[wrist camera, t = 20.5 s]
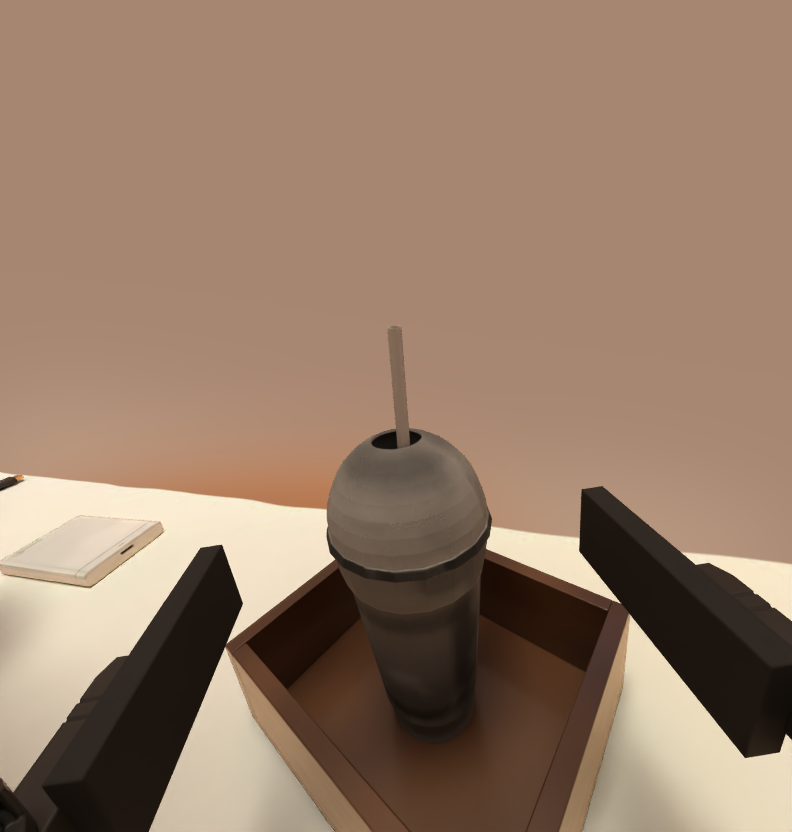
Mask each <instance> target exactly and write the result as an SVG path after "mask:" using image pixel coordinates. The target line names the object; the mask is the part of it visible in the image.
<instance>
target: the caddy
mask: <svg viewBox="0 0 792 832" xmlns="http://www.w3.org/2000/svg"><path fill="white" fill-rule="evenodd" d="M629 621H630V614H629V613H628V611H627V610H626V609H625V608H624V606H623V605H622V604H620V603H618V602H615V601H612V600H610V599H608V598H605V597H603V596H600V595H598V594H595V593H593V592H590V591H588V590H586V589H583V588H581V587H578V586H576V585H573V584H571V583H568V582H566V581H563V580H561V579H558V578H556V577H553V576H551V575H549V574H546V573H544V572H541V571H539V570H536V569H534V568H531V567H529V566H526V565H524V564H521V563H519V562H517V561H514V560H512V559H509V558H507V557H504V556H502V555H499V554H497V553H494V552H492V551H489V550H487V549H486V552H485V557H484V563H483V568H482V573H481V583H480V610H479V637H478V664H477V683H476V691H475V702H474V711H473V714H472V716H471V719H470V721H469V723H468V725H467V727H466V728H465V729H464V730H463V731H462V732H461V733H460V734H459V735H458V736H457V737H454V738H452V739H450V740H448V741H446V742H443V743H427V742H423V741H420V740H417V739H415V738H414V737H412V736H411V735H410V734H408V733H407V732H406V731H405V730H404V729H403V727H402V726H401V724H400V723H399V722H398V720H397V718H396V715H395V711H394V709H393V706H392V704H391V703H390V701H389V699H388V696H387V693H386V690H385V687H384V684H383V681H382V678H381V675H380V672H379V669H378V666H377V663H376V660H375V657H374V654H373V651H372V648H371V645H370V642H369V639H368V636H367V633H366V630H365V627H364V624H363V621H362V618H361V615H360V612H359V609H358V606H357V603H356V600H355V597H354V594H353V592H352V590H351V589H350V588H349V587H348V585H347V583H346V581H345V579H344V577H343V575H342V573H341V572H340V570H339V568H338V564H337V560H334V561H333V562H332V563H330V564H329V565H328V566H326V567H325V568H324V569H323V570H321V571H320V572H319V573H317V574H316V575H315V576H314V577H312V578H311V579H310V580H308V581H307V582H306V583H305V584H303V585H302V586H301V587H299V588H298V589H297V590H296V591H294V592H293V593H292V594H290V595H289V596H288V597H287V598H285V599H284V600H283V601H281V602H280V603H279V604H278V605H276V606H275V607H274V608H272V609H271V610H270V611H269V612H267V613H266V614H265V615H263V616H262V617H261V618H259V619H258V620H257V621H256V622H254V623H253V624H252V625H250V626H249V627H248V628H247V629H245V630H244V631H243V632H241V633H240V634H239V635H238V636H236V637H235V638H234V639H232V640H231V641H230V642H229V643H227V644H226V646H225V647H226V650H227V653H228V655H229V658H230V660H231V663H232V665H233V668H234V670H235V673H236V675H237V678H238V680H239V683H240V685H241V688H242V690H243V693H244V696H245V698H246V701H247V703H248V706H249V708H250V710H251V713H252V716H253V717H254V719H255V720H256V722H257V723H258V724H259V726H260V727H261V729H262V730H263V731H264V733H265V734H266V735H267V737H268V738H269V740H270V741H271V742H272V744H273V745H274V747H275V748H276V749H277V751H278V752H279V754H280V755H281V756H282V758H283V759H284V761H285V762H286V763H287V765H288V766H289V768H290V769H291V770H292V772H293V773H294V775H295V776H296V777H297V779H298V780H299V781H300V783H301V784H302V786H303V787H304V788H305V790H306V791H307V793H308V794H309V795H310V797H311V798H312V800H313V801H314V802H315V804H316V805H317V807H318V808H319V809H320V811H321V812H322V814H323V815H324V816H325V818H326V819H327V821H328V822H329V823H330V825H331V826H332V828H333V829H334V830H335V832H582V829H583V825H584V822H585V818H586V814H587V811H588V807H589V804H590V800H591V797H592V793H593V790H594V786H595V783H596V779H597V776H598V772H599V769H600V765H601V761H602V758H603V754H604V751H605V747H606V744H607V740H608V737H609V733H610V730H611V726H612V723H613V719H614V715H615V712H616V708H617V705H618V701H619V698H620V694H621V691H622V687H623V679H624V670H625V660H626V650H627V641H628V631H629Z"/></svg>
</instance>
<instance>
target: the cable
mask: <svg viewBox="0 0 792 832" xmlns="http://www.w3.org/2000/svg"><path fill="white" fill-rule="evenodd" d="M22 478H24V477H23V476H22V475H16V476H13V477H8V478H6V479H3V480H1V481H0V489H2V488H4V487H7V486H9V485H11V484H14V483H16V482H17V480H20V479H22Z"/></svg>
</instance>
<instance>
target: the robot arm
mask: <svg viewBox="0 0 792 832" xmlns="http://www.w3.org/2000/svg"><path fill="white" fill-rule="evenodd" d="M581 495H582V496H581V520H580V545H579V551H580V553H581V554H582V555H583V556H584V558H585V559H586V560H587V561H588V563H589V564H590V565H591V566H592V568H593V569H594V570H595V571H596V573H597V574H598V575H599V576H600V578H601V579H602V580H603V581H604V583H605V584H606V585H607V586H608V588H609V589H610V590H611V591H612V593H613V594H614V595H615V596H616V598H617V599H618V600H619V601H620V603H621V604H622V605H623V606H624V608H625V609H626V610H627V611H628V613H629V614H630V615H631V616H632V618H633V619H634V620H635V621H636V623H637V624H638V625H639V626H640V628H641V629H642V630H643V631H644V633H645V634H646V635H647V636H648V637H649V639H650V640H651V641H652V642H653V644H654V645H655V646H656V647H657V649H658V650H659V651H660V652H661V654H662V655H663V656H664V657H665V659H666V660H667V661H668V662H669V664H670V665H671V666H672V667H673V669H674V670H675V671H676V672H677V674H678V675H679V676H680V677H681V679H682V680H683V681H684V682H685V684H686V685H687V686H688V687H689V689H690V690H691V691H692V692H693V694H694V695H695V696H696V697H697V699H698V700H699V701H700V702H701V704H702V705H703V706H704V707H705V709H706V710H707V711H708V712H709V714H710V715H711V716H712V717H713V719H714V720H715V721H716V722H717V724H718V725H719V726H720V727H721V729H722V730H723V731H724V732H725V734H726V735H727V736H728V737H729V739H730V740H731V741H732V742H733V744H734V745H735V746H736V747H737V749H738V750H739V751H740V752H741V754H742V755H743V756H744V757H745V758H748V757H754V756H760V755H766V754H772V753H778V752H780V750H781V747H782V744H783V741H784V738H785V735H786V734H787V735H788V736H789V737H790V738H791V740H792V621H791V620H789V619H788V618H787V617H786V616H784V615H783V614H782V613H781V612H779V611H778V610H777V609H775V608H772V607H771V606H770V604H769V603H768V602H766V601H765V600H764V599H763V598H761V597H760V596H759V595H758V594H754V593H753V591H752V590H751V589H750V588H749V587H747V586H746V585H745V584H743V583H742V582H741V581H740V580H738V579H737V578H736V577H735V576H733V575H731V574H730V573H728V572H726V571H724V570H722V569H720V568H718V567H716V566H714V565H712V564H710V563H705V564H699V565H695V564H694V563H693V562H692V561H690V560H689V559H688V558H687V557H686V556H684V555H683V554H682V553H681V552H680V551H679V550H677V549H676V548H675V547H674V546H673V545H671V544H670V543H669V542H668V541H667V540H665V539H664V538H663V537H662V536H661V535H659V534H658V533H657V532H656V531H655V530H654V529H652V528H651V527H650V526H649V525H648V524H646V523H645V522H644V521H643V520H642V519H641V518H639V517H638V516H637V515H636V514H635V513H633V512H632V511H631V510H630V509H628V508H627V507H626V506H625V505H624V504H623V503H622V502H620V501H619V500H618V499H617V498H615V497H614V496H613V495H612V494H611V493H610V492H608V491H607V490H606V489H605V488H603V486H601V487H594V488H588V489H582V494H581ZM242 605H243V602H242V600H241V597H240V594H239V591H238V588H237V586H236V583H235V580H234V577H233V574H232V571H231V569H230V566H229V563H228V560H227V557H226V555H225V552H224V549H223V546H222V545H216V546H210V547H203V548H200V550H199V551H198V553H197V554H196V556H195V557H194V559H193V560H192V562H191V563H190V565H189V566H188V568H187V569H186V571H185V572H184V574H183V575H182V577H181V578H180V579H179V581H178V582H177V584H176V585H175V587H174V588H173V590H172V591H171V593H170V594H169V596H168V597H167V599H166V600H165V602H164V603H163V605H162V606H161V608H160V609H159V611H158V612H157V614H156V615H155V617H154V618H153V620H152V621H151V623H150V624H149V626H148V627H147V629H146V630H145V632H144V633H143V635H142V636H141V638H140V639H139V641H138V642H137V644H136V645H135V647H134V648H133V650H132V651H131V653H130V654H129V656H123V657H117V658H116V659H115V660H114V661H113V662H111V663H110V664H109V665H108V666H107V667H106V668H105V669H104V670H103V671H102V672H101V673H100V674H99V675H98V676H97V677H96V678H95V679H94V681H93V682H92V683H91V685H90V686H89V688H88V689H87V690H86V692H85V693H84V695H83V696H82V697H81V699H80V703H79V704H76V706H75V707H74V709H73V710H72V711H71V713H70V714H69V716H68V717H67V721H66V722H65V723H63V724H62V725H61V727H60V728H59V730H58V731H57V732H56V734H55V735H54V737H53V738H52V739H51V741H50V742H49V744H48V745H47V746H46V748H45V749H44V750H43V752H42V753H41V755H40V756H39V757H38V759H37V760H36V762H35V763H34V764H33V766H32V767H31V769H30V770H29V771H28V773H27V774H26V776H25V777H24V778H23V780H22V781H21V783H20V784H19V785H18V787H17V788H16V790H15V791H14V792H12V791H11V790H10V788H9V787H8V786H7V785H6V783H5V782H4V781H3V780H2V779H1V778H0V832H149V829H150V827H151V825H152V822H153V820H154V817H155V815H156V813H157V810H158V808H159V805H160V803H161V800H162V798H163V796H164V793H165V791H166V788H167V786H168V784H169V781H170V779H171V776H172V774H173V771H174V769H175V767H176V764H177V762H178V759H179V757H180V755H181V752H182V750H183V747H184V745H185V742H186V740H187V738H188V735H189V733H190V730H191V728H192V726H193V723H194V721H195V718H196V716H197V713H198V711H199V709H200V706H201V704H202V701H203V699H204V697H205V694H206V692H207V689H208V687H209V684H210V682H211V680H212V677H213V675H214V672H215V670H216V668H217V665H218V663H219V660H220V658H221V655H222V653H223V651H224V648H225V646H226V643H227V641H228V639H229V636H230V634H231V631H232V629H233V626H234V624H235V622H236V619H237V617H238V614H239V612H240V610H241V607H242Z"/></svg>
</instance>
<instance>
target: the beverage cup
mask: <svg viewBox="0 0 792 832" xmlns="http://www.w3.org/2000/svg"><path fill="white" fill-rule="evenodd" d="M387 329H388V340H389V351H390V352H389V353H390V364H391V375H392V387H393V399H394V410H395V421H396V429H391V430H388V431H384V432H381V433H379V434H376V435H374V436H371V437H370V438H368V439H366V440H365V441H363V442H362V443H361V444H359V445H358V446H357V447H356V448H355V449H354V450H353V451H352V452H351V453H350V454H349V455H348V456H347V458H346V459H345V460H344V461H343V462H342V464H341V466H340V467H339V469H338V471H337V473H336V476H335V478H334V481H333V484H332V487H331V490H330V493H329V498H328V503H327V522H328V528H327V541H328V546H329V550H330V554H331V555H332V556H333V557H334V558H335V559H336V560H337V564H338V568H339V570H340V572H341V573H342V575H343V577H344V579H345V581H346V583H347V585H348V587H349V588H350V589H351V590H352V592H353V594H354V597H355V600H356V603H357V606H358V609H359V612H360V615H361V618H362V621H363V624H364V627H365V630H366V633H367V636H368V639H369V642H370V645H371V648H372V651H373V654H374V657H375V660H376V663H377V666H378V669H379V672H380V675H381V678H382V681H383V684H384V687H385V690H386V693H387V696H388V699H389V701H390V703H391V704H392V706H393V709H394V711H395V715H396V718H397V720H398V722H399V723H400V724H401V726H402V727H403V729H404V730H405V731H406V732H407V733H408V734H410V735H411V736H412V737H414V738H415V739H417V740H420V741H423V742H427V743H443V742H446V741H448V740H450V739H452V738H454V737H457V736H458V735H459V734H460V733H461V732H462V731H463V730H464V729H465V728H466V727H467V725H468V723H469V721H470V719H471V716H472V714H473V711H474V702H475V691H476V683H477V664H478V637H479V610H480V583H481V573H482V568H483V563H484V557H485V552H486V544H487V539H488V538H489V536H490V530H491V522H492V518H491V515H490V512H489V510H488V508H487V504H486V498H485V495H484V492H483V490H482V486H481V485H480V482H479V480H478V477H477V475H476V473H475V471H474V469H473V467H472V465H471V464H470V463H469V461H468V460H467V459H466V457H465V456H464V455H463V454H462V453H461V452H460V451H459V450H458V449H456V448H455V447H454V446H453V445H452V444H450V443H449V442H448V441H446V440H444V439H443V438H441V437H440V436H437V435H434V434H432V433H429V432H426V431H423V430H418V429H409V424H408V411H407V397H406V383H405V370H404V356H403V343H402V330H401V326H390V327H387Z"/></svg>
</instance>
